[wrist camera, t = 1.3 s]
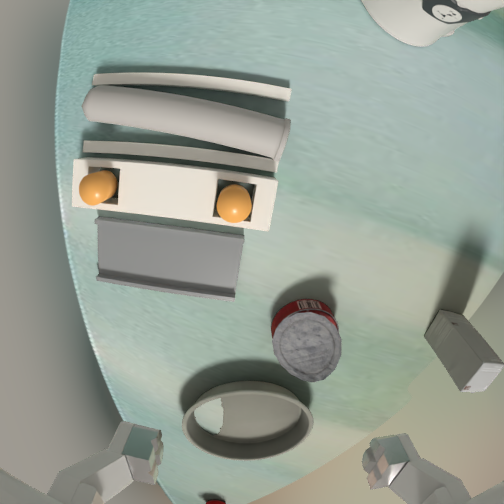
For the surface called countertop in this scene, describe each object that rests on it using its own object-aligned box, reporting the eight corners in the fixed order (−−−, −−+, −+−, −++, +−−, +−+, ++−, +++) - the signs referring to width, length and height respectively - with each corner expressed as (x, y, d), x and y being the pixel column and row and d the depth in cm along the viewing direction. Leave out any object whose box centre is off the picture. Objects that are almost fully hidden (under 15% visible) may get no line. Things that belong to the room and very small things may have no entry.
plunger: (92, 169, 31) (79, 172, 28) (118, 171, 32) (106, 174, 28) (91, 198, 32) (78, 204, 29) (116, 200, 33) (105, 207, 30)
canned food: (283, 333, 50) (261, 376, 42) (278, 286, 45) (252, 329, 38) (347, 343, 45) (334, 391, 38) (351, 295, 41) (339, 344, 33)
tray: (99, 216, 36) (94, 219, 35) (244, 235, 38) (244, 239, 37) (100, 275, 39) (96, 280, 38) (234, 296, 42) (234, 301, 40)
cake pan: (259, 350, 46) (261, 369, 41) (330, 414, 53) (335, 430, 49) (158, 406, 50) (154, 423, 46) (238, 455, 58) (239, 470, 54)
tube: (73, 128, 28) (277, 169, 32) (76, 86, 25) (292, 125, 28) (94, 116, 33) (276, 153, 36) (98, 79, 29) (289, 114, 33)
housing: (97, 75, 29) (86, 71, 26) (289, 90, 32) (295, 85, 29) (84, 200, 35) (72, 206, 32) (265, 223, 38) (268, 231, 35)
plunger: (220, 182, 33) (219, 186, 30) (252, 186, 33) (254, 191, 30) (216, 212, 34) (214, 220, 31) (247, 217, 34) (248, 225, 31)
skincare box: (463, 314, 46) (509, 360, 31) (445, 343, 49) (485, 393, 34) (438, 307, 45) (487, 359, 30) (419, 339, 47) (461, 395, 33)
